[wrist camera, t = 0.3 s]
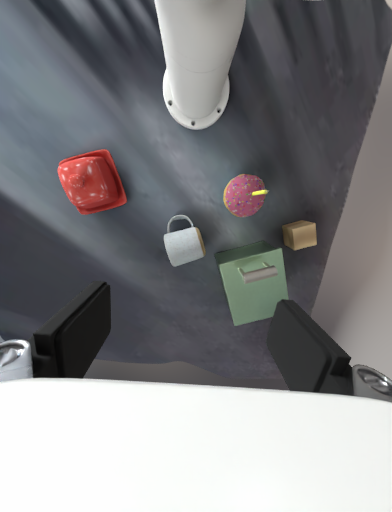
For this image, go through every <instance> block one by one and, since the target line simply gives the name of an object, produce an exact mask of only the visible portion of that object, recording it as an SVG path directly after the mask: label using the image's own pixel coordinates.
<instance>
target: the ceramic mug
mask: <svg viewBox="0 0 392 512" xmlns="http://www.w3.org/2000/svg"><path fill="white" fill-rule="evenodd" d="M179 219H187V220H188V221H189V222H190V224H191V226H192V227H191V228H188V229H184V230H181V231H176V232H172V233H170V226H171V223H172V222H173V221H174V220H179ZM164 242H165V247H166V251H167V254H168V256H169V259H170V261H171V264H172V265H173V266H174V267H176V266H179V265H181V264H184V263H187V262H190V261H193V260H196V259H199V258H201V257H203V256H205V254H206V251H205V247H204V243H203V240H202V237H201V233H200V230H199V229H198V228H196V227H193V224H192V221H191V220H190V219H189V218H188V217H187V216H184V215H177V216H174V217H172V218H171V219H170V221H169V223H168V234H165V235H164Z"/></svg>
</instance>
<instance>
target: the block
mask: <svg viewBox="0 0 392 512" xmlns="http://www.w3.org/2000/svg"><path fill="white" fill-rule="evenodd" d="M282 230H283V238H284V245H286V246H288V247H290V248H292V249H293V250H298V249H302V248H306V247H309V246H313V245H317V240H316V225H315V223H312V222H308V221H303V220H301V221H297V222H294V223H290V224H287V225H283V226H282Z"/></svg>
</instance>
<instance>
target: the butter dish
mask: <svg viewBox="0 0 392 512" xmlns="http://www.w3.org/2000/svg"><path fill="white" fill-rule="evenodd" d="M58 175H59V178H60V181H61V184H62V186H63V188H64V190H65V192H66V194H67V196H68V198H69V199H70V201H71V202H72V203H73V204H74V205H75V206H76V207H77V209H78V211H79V212H80V213H81V214H84V215H86V214H92V213H96V212H100V211H104V210H108V209H111V208H115V207H119V206H121V205H124V204H125V203H126V202H127V198H126V194H125V191H124V188H123V185H122V183H121V180H120V177H119V174H118V171H117V169H116V166H115V163H114V161H113V158H112V156H111V154H110V152H109V151H108V150H106V149H102V150H97V151H93V152H89V153H85V154H81V155H78V156H74V157H70V158H67V159H64V160H62V161H61V162H60V163H59V167H58Z"/></svg>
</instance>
